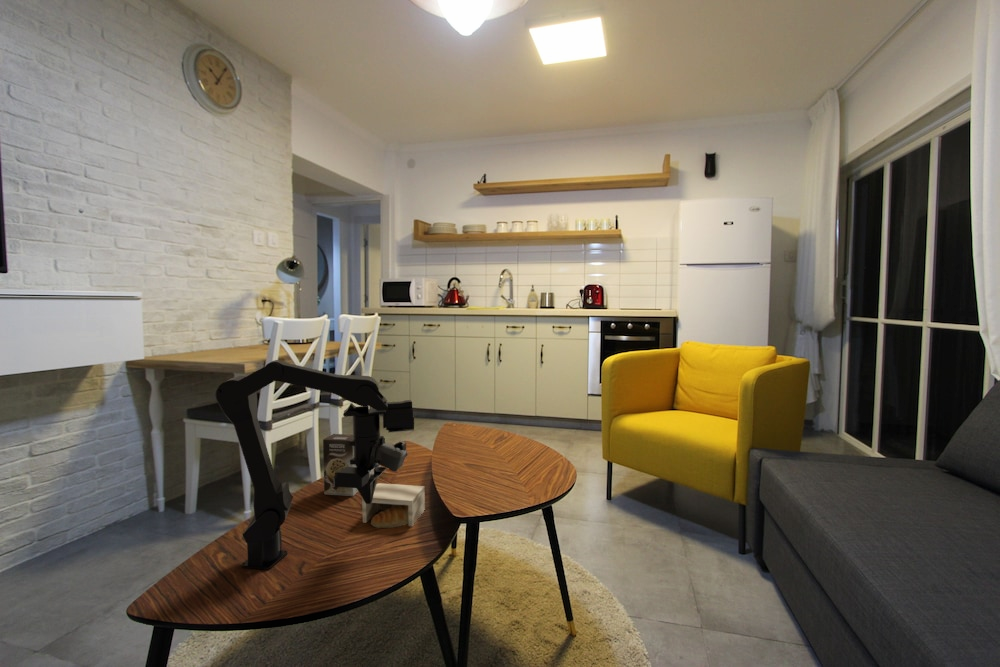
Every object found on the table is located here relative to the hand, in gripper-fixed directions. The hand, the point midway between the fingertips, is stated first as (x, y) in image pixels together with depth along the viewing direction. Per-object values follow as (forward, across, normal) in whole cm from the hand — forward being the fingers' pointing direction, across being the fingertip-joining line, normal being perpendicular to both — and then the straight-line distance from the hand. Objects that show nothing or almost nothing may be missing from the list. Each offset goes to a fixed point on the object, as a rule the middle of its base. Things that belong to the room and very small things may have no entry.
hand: (368, 503), depth 100 cm
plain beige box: (+10, +14, 0) cm, 17 cm away
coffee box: (+10, +27, +21) cm, 36 cm away
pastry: (+10, +11, -1) cm, 15 cm away
